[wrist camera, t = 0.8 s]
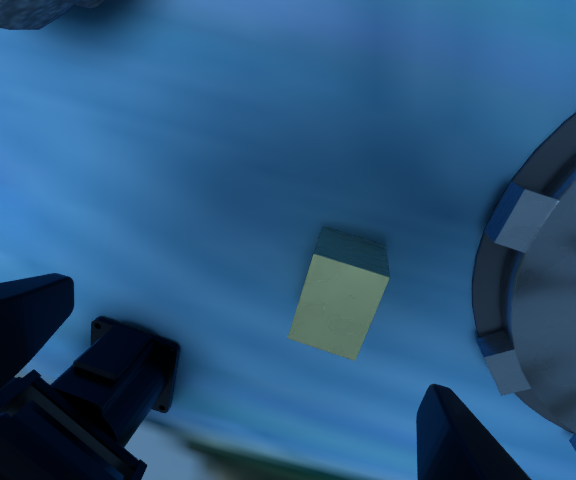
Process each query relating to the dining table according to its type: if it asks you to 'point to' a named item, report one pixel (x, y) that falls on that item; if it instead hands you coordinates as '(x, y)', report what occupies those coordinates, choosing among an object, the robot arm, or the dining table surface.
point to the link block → (340, 293)
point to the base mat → (492, 256)
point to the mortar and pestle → (36, 12)
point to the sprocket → (537, 295)
